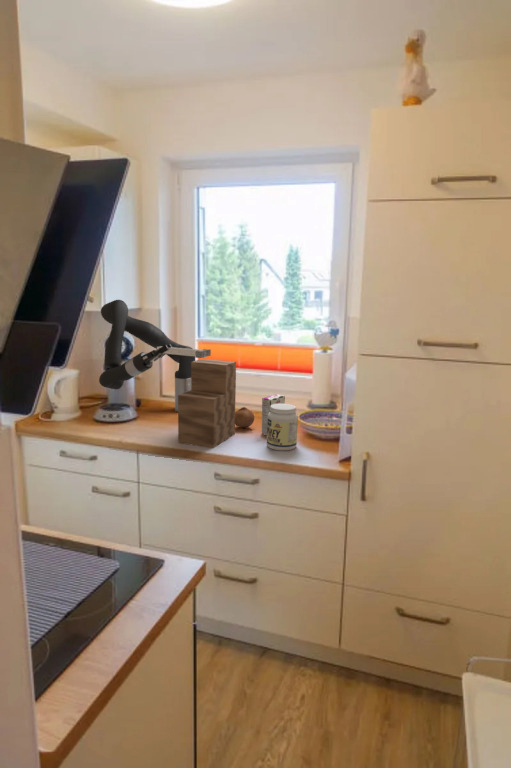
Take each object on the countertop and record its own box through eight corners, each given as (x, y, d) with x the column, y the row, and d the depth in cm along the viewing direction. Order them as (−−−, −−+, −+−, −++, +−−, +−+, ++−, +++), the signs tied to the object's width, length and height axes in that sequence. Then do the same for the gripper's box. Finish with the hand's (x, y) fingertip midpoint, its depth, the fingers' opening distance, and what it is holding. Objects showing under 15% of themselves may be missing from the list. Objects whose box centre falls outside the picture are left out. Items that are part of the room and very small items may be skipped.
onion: (240, 432, 224) (240, 410, 222) (229, 427, 232) (229, 406, 230) (258, 429, 229) (258, 408, 227) (246, 424, 237) (247, 403, 235)
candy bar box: (275, 428, 231) (276, 393, 228) (284, 430, 228) (285, 395, 225) (260, 434, 223) (261, 397, 219) (269, 436, 220) (271, 399, 216)
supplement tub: (260, 446, 206) (261, 405, 203) (280, 440, 215) (282, 401, 212) (282, 453, 198) (284, 411, 195) (302, 447, 206) (304, 406, 203)
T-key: (163, 351, 213) (163, 345, 212) (210, 355, 205) (210, 349, 204) (153, 353, 205) (153, 347, 205) (201, 358, 197) (201, 351, 197)
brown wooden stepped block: (202, 429, 227) (202, 358, 221) (234, 434, 221) (236, 361, 215) (178, 442, 208) (177, 365, 202) (213, 448, 202) (214, 369, 196)
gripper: (124, 358, 207) (155, 340, 200) (144, 354, 220) (174, 336, 213) (132, 375, 207) (164, 357, 200) (151, 370, 220) (181, 352, 213)
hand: (169, 346), depth 207 cm, fingers closed on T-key, 2 cm apart
